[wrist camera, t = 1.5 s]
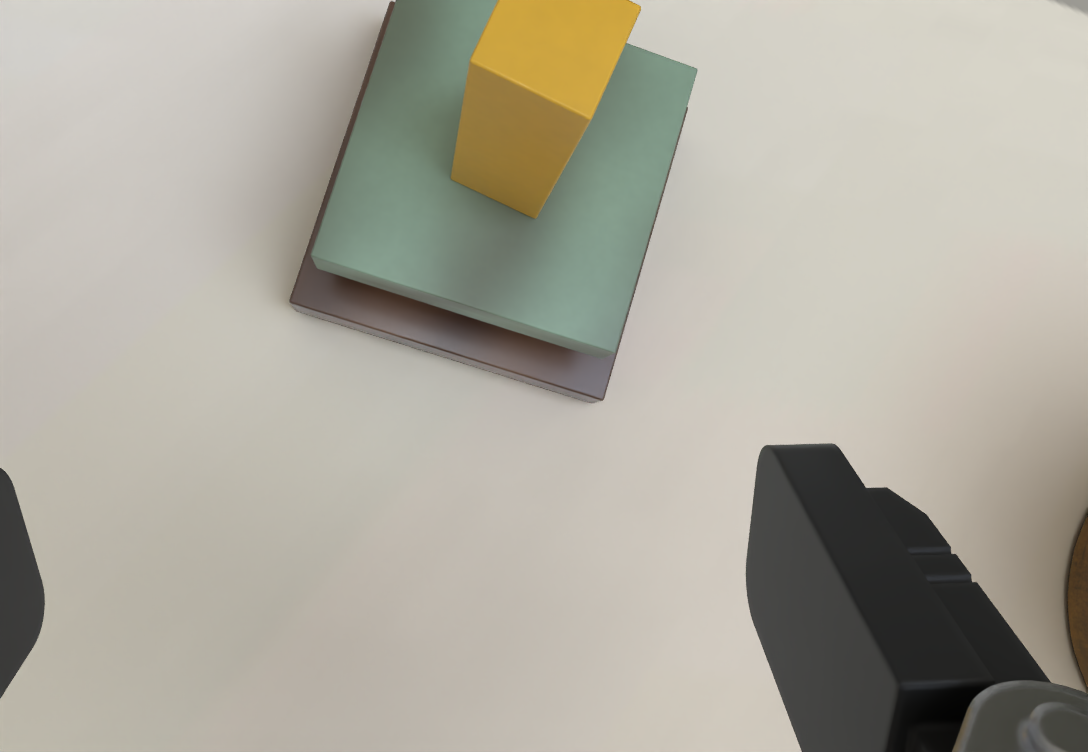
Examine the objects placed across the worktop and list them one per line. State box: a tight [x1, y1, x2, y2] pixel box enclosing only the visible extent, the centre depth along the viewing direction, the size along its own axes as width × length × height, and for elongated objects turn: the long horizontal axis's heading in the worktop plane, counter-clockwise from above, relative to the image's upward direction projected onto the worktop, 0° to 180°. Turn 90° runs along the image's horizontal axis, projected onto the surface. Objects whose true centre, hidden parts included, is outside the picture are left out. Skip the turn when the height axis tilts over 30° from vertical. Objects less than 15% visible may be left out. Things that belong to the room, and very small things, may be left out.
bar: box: [451, 0, 641, 219], centre depth 25 cm, size 3×3×9 cm
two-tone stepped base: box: [289, 0, 697, 403], centre depth 33 cm, size 12×12×7 cm
